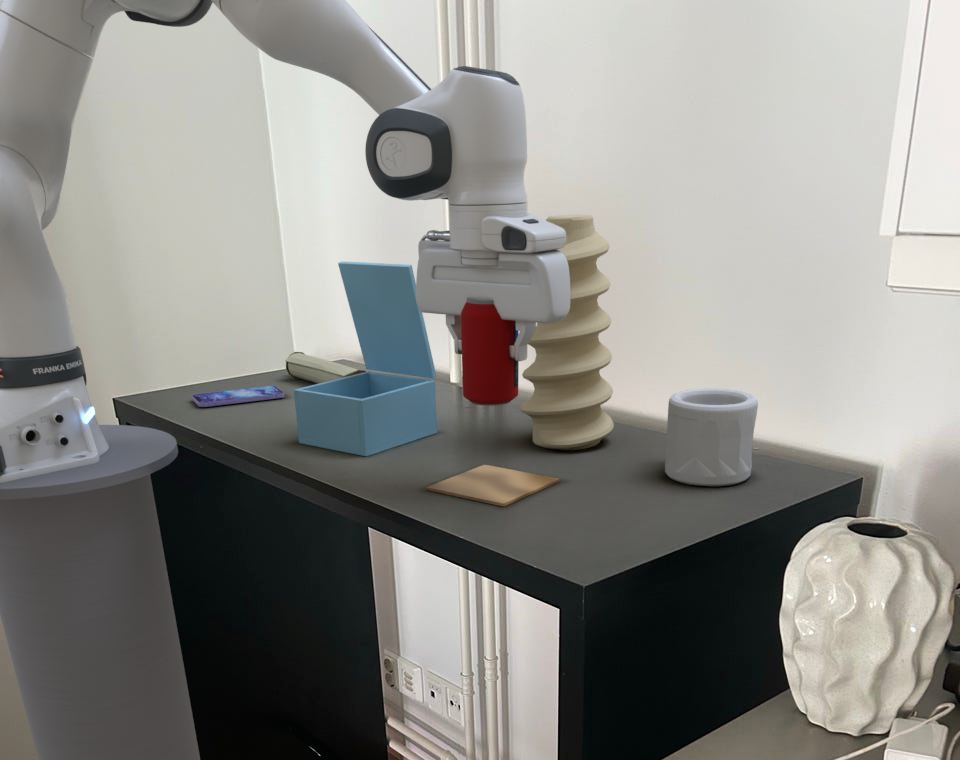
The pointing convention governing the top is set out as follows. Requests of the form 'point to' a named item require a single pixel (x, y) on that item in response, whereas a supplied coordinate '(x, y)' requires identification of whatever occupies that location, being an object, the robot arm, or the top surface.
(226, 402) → the smartphone
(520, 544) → the top surface
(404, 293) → the lid
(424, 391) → the box
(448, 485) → the cork mat
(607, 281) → the decorative object
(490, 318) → the beverage can
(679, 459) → the mug
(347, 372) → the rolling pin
